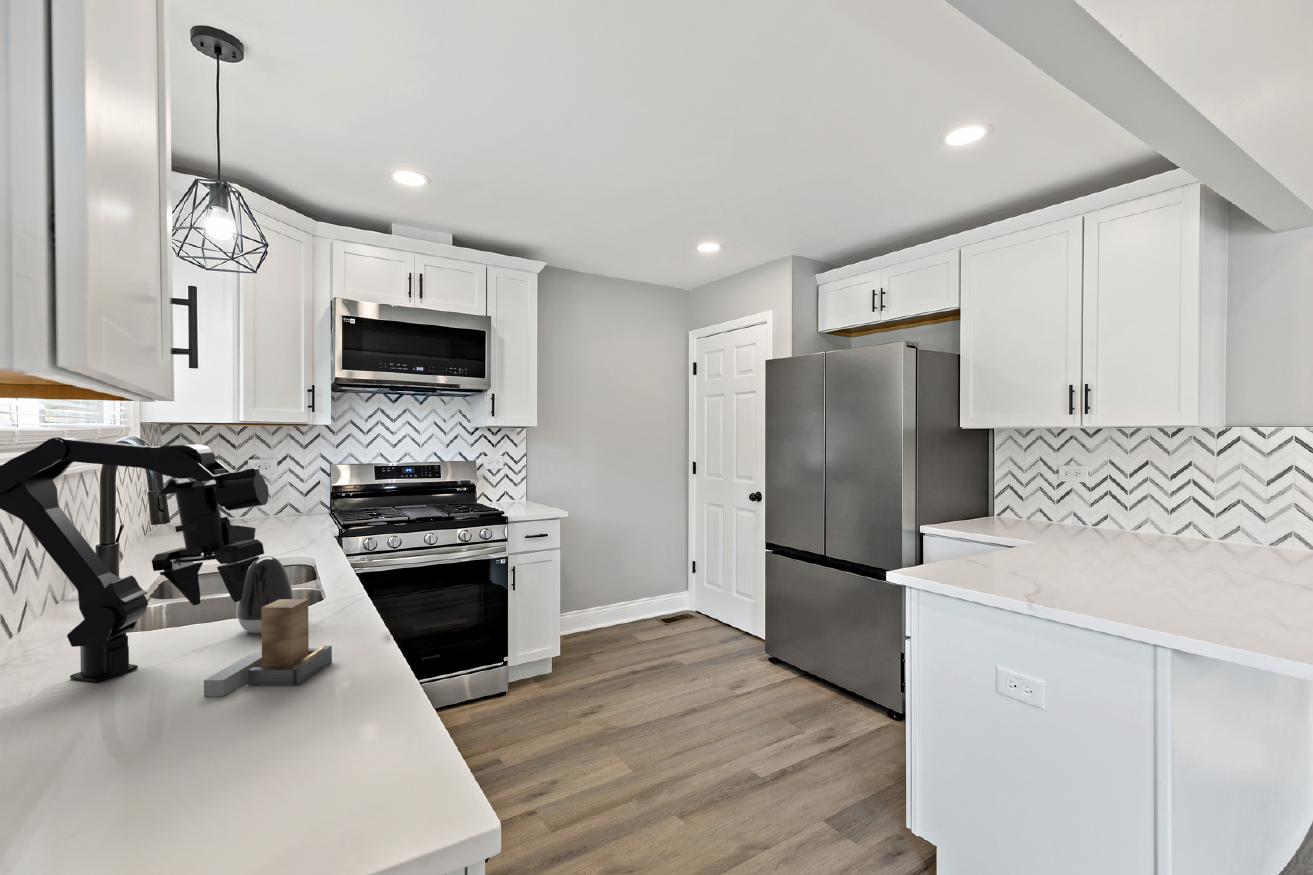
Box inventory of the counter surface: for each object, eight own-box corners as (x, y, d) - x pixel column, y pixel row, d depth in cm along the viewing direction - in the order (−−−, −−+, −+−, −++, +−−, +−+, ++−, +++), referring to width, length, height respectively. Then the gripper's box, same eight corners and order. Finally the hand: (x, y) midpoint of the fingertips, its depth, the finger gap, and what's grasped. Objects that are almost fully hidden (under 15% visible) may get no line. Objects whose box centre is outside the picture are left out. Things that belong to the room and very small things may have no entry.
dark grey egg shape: (280, 618, 136) (280, 549, 136) (303, 627, 130) (303, 555, 130) (227, 631, 128) (227, 557, 128) (249, 641, 122) (248, 563, 122)
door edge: (203, 696, 97) (203, 680, 97) (273, 654, 115) (273, 640, 115) (223, 696, 97) (223, 680, 97) (289, 654, 115) (289, 640, 115)
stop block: (262, 679, 104) (261, 607, 103) (279, 667, 109) (279, 599, 108) (292, 679, 104) (291, 607, 104) (308, 667, 109) (308, 599, 109)
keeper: (248, 685, 101) (248, 664, 101) (284, 662, 111) (284, 643, 111) (300, 685, 101) (300, 664, 101) (331, 662, 111) (331, 643, 111)
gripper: (281, 501, 114) (297, 584, 115) (203, 511, 119) (218, 591, 120) (226, 513, 103) (243, 605, 104) (142, 524, 108) (159, 612, 109)
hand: (217, 602), depth 109 cm, fingers open, 9 cm apart
